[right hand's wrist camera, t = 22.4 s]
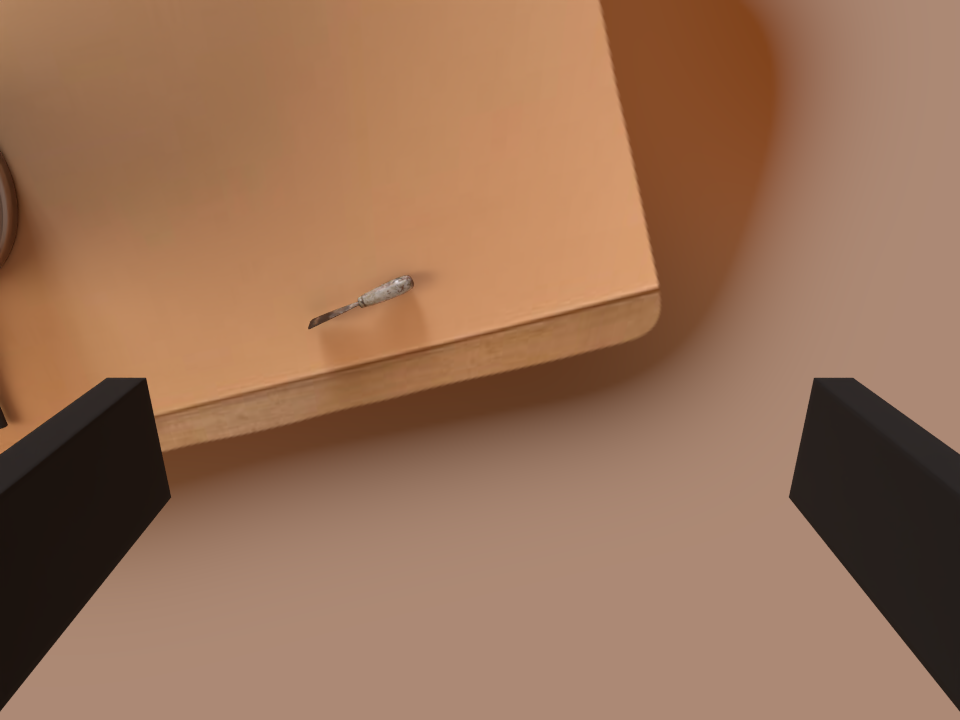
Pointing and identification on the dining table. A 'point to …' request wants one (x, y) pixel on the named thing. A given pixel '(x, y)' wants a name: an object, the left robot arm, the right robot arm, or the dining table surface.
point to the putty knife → (371, 298)
